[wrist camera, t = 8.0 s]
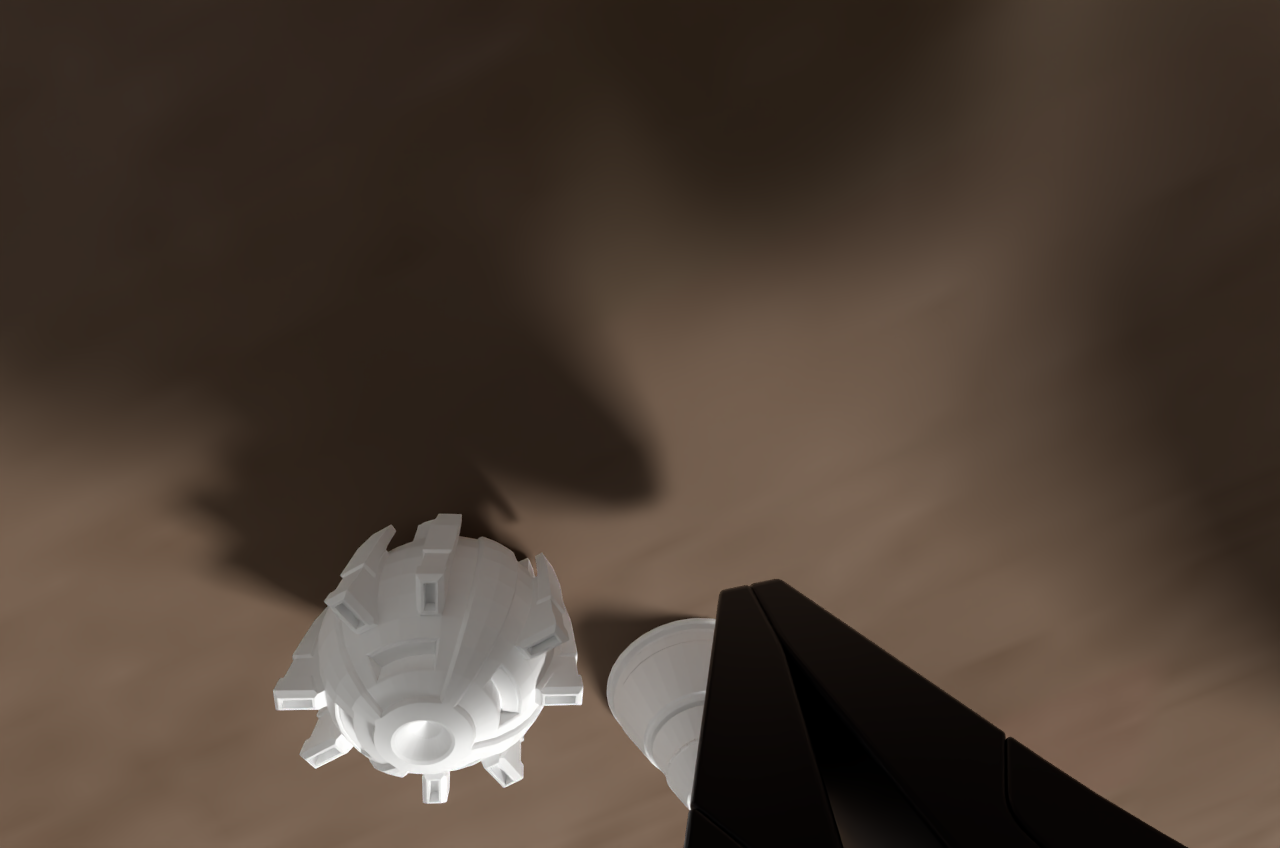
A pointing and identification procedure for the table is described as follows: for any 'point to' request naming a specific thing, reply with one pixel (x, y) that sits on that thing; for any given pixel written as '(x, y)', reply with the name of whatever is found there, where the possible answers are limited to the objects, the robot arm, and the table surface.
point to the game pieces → (476, 664)
